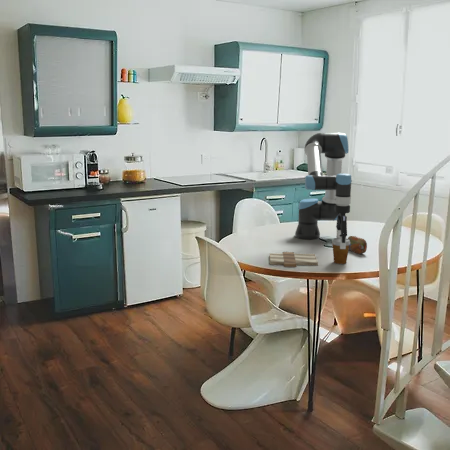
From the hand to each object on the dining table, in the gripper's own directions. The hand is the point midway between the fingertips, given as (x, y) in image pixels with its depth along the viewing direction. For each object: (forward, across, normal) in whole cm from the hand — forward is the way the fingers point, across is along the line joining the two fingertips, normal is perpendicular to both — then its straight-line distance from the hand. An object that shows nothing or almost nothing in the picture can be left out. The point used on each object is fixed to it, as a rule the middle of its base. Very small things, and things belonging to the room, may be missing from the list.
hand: (340, 245), depth 278 cm
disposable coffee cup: (+9, 0, 0) cm, 9 cm away
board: (+9, -2, -24) cm, 26 cm away
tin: (+9, -21, +12) cm, 26 cm away
